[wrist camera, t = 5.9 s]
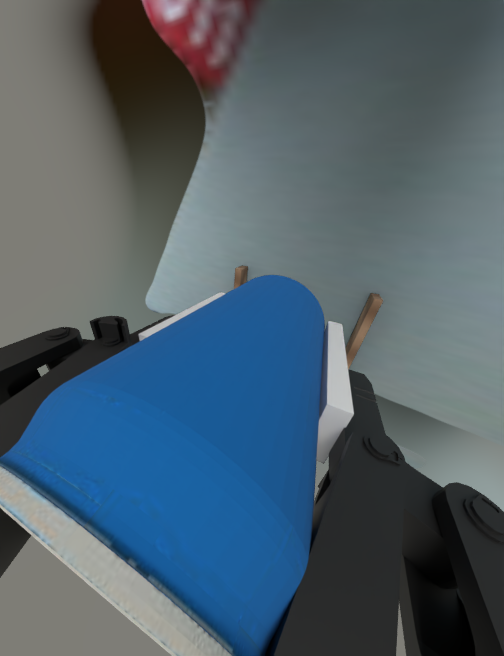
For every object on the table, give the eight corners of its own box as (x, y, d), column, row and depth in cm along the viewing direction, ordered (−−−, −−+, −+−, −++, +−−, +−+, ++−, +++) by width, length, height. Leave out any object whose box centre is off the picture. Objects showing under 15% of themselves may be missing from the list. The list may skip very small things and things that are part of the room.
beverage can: (234, 349, 16) (62, 554, 6) (233, 269, 13) (-133, 392, 3) (315, 367, 14) (274, 736, 4) (334, 277, 11) (403, 866, 1)
